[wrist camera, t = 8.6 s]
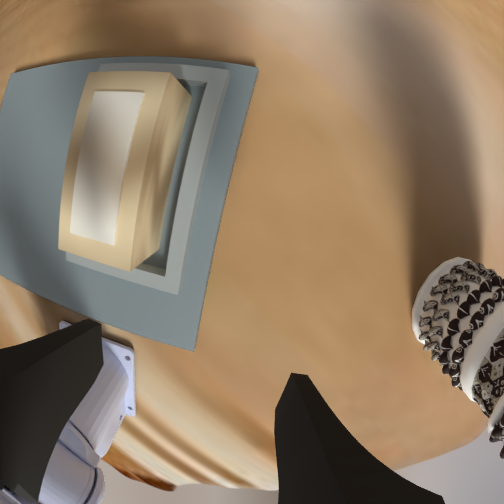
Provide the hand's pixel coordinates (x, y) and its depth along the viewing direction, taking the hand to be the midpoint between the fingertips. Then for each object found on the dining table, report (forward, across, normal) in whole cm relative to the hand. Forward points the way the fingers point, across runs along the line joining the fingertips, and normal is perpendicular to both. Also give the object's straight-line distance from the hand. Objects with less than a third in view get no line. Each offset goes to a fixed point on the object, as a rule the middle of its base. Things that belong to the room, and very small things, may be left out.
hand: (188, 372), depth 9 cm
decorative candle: (+10, -19, -2) cm, 22 cm away
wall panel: (+10, +13, -4) cm, 17 cm away
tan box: (+9, +7, -6) cm, 13 cm away
